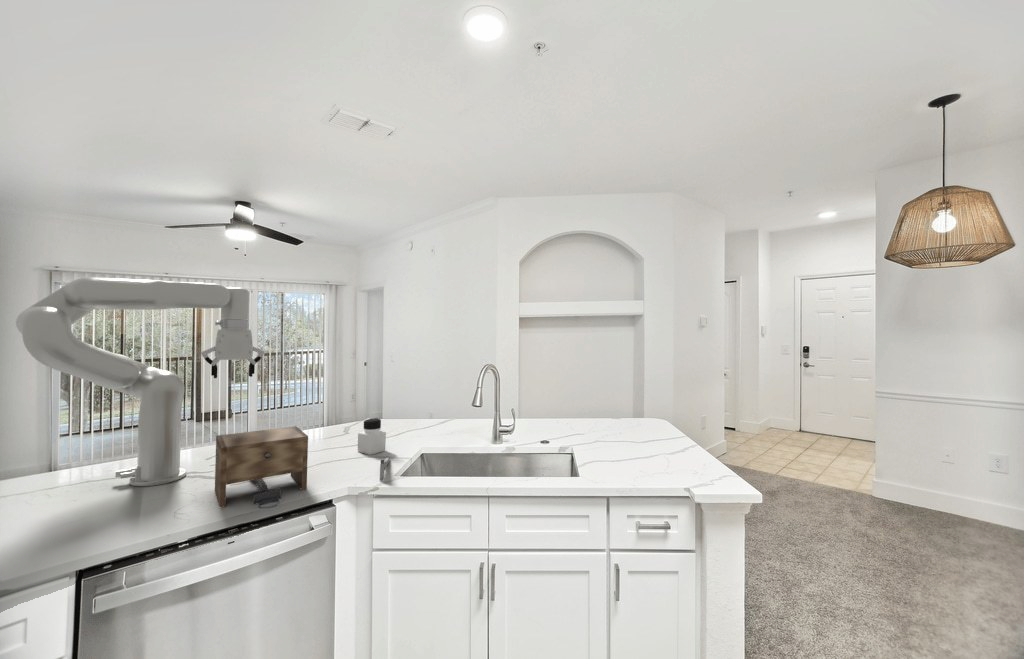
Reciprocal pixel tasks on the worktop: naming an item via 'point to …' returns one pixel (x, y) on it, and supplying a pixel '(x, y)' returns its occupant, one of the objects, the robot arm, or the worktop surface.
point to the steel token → (268, 503)
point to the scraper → (265, 492)
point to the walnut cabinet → (260, 457)
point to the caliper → (383, 467)
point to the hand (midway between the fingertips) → (233, 377)
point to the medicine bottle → (371, 437)
